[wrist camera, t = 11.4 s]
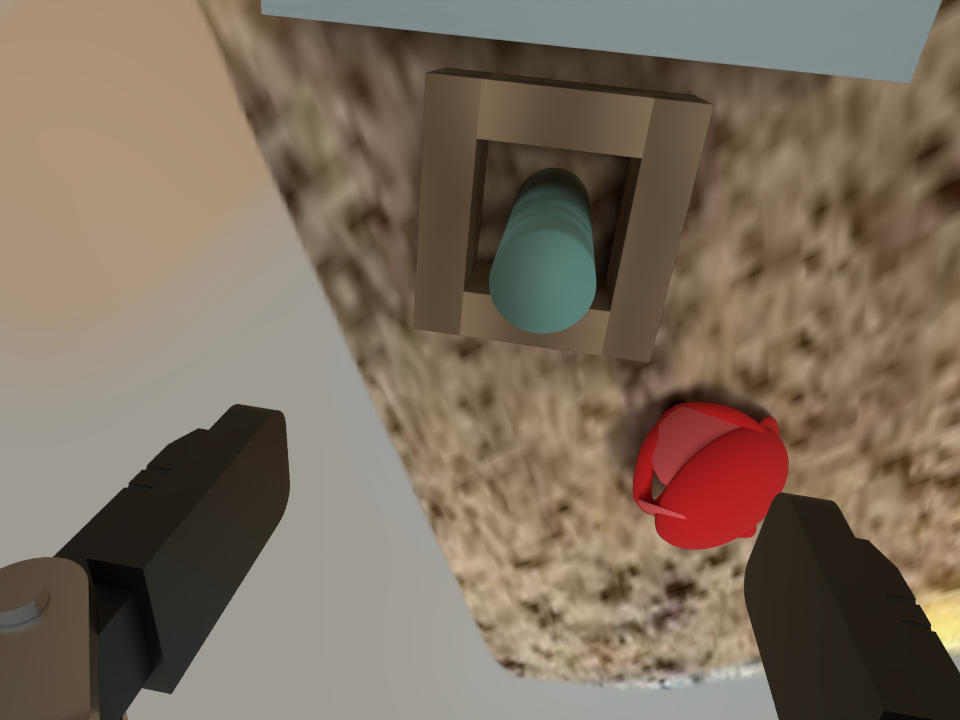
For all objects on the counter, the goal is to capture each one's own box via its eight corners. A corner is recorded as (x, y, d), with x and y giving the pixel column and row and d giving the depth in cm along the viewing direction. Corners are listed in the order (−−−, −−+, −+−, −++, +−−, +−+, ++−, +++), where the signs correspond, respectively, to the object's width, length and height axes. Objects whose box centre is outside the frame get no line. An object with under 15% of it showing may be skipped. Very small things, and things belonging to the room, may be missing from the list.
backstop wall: (859, 1, 23) (946, -11, 17) (835, 73, 24) (910, 83, 19) (325, -52, 24) (256, -76, 19) (327, 19, 25) (261, 14, 20)
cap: (633, 552, 32) (756, 602, 28) (605, 491, 28) (744, 539, 24) (691, 429, 35) (807, 459, 32) (674, 360, 31) (804, 385, 28)
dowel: (595, 172, 27) (605, 240, 18) (582, 245, 28) (585, 340, 19) (520, 163, 27) (494, 225, 18) (512, 236, 28) (484, 325, 20)
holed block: (694, 95, 25) (713, 104, 21) (640, 323, 29) (649, 362, 26) (446, 67, 26) (425, 72, 22) (432, 294, 30) (413, 328, 27)
